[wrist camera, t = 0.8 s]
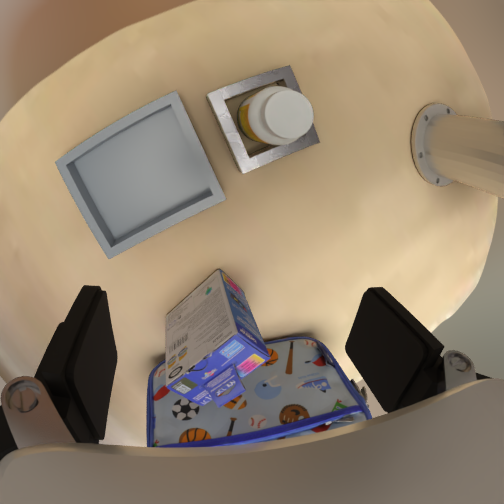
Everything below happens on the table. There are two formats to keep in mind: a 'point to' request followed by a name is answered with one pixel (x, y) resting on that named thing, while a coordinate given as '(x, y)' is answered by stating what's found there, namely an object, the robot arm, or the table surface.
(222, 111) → the collar
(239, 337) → the ink cartridge box
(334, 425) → the lunch box
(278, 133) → the supplement bottle
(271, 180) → the table surface
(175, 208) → the tray
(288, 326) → the table surface
